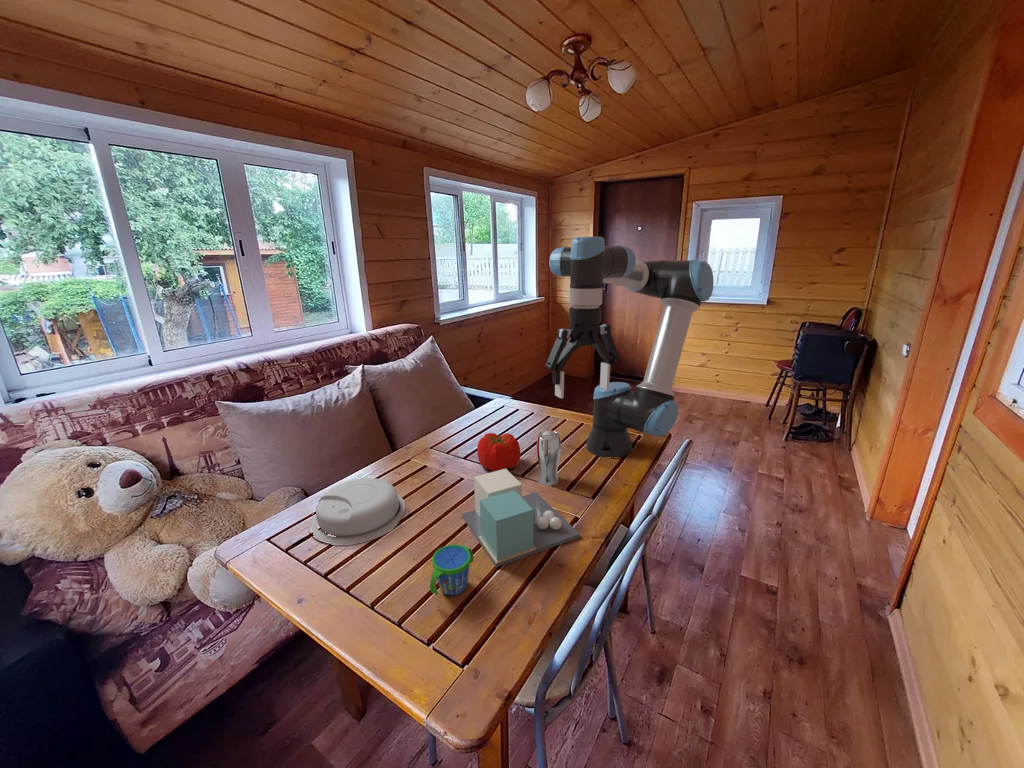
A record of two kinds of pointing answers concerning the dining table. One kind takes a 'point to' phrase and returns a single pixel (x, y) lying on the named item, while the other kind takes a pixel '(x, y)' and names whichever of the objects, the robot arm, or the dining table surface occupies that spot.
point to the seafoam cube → (506, 524)
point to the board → (540, 537)
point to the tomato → (498, 451)
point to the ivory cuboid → (494, 485)
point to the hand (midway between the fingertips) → (582, 392)
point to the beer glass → (548, 457)
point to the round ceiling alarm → (357, 511)
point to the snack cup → (451, 569)
